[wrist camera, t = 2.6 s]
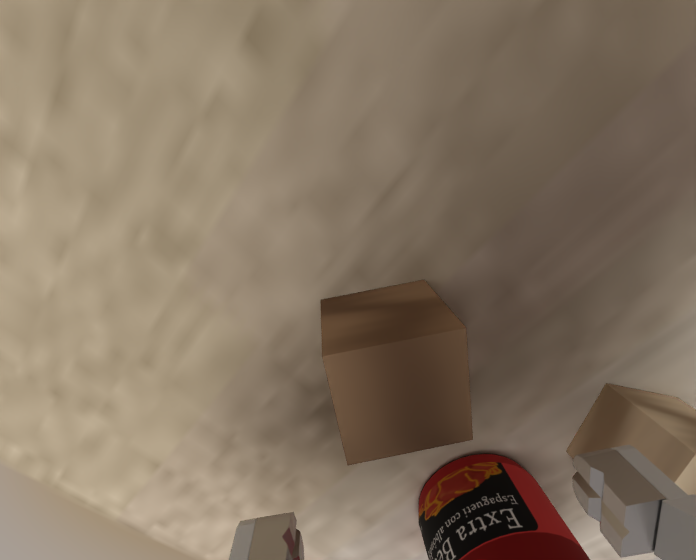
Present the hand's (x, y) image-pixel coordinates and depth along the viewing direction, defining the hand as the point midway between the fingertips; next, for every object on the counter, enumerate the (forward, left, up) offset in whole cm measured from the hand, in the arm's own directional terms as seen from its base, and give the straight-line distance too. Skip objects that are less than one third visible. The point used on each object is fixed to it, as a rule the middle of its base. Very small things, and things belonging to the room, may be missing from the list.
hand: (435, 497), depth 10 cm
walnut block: (-1, +1, -8) cm, 8 cm away
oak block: (+15, +4, -8) cm, 18 cm away
